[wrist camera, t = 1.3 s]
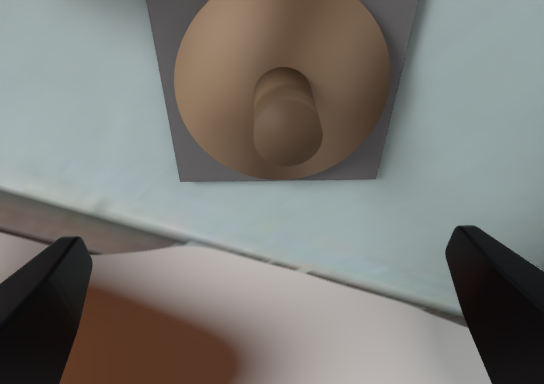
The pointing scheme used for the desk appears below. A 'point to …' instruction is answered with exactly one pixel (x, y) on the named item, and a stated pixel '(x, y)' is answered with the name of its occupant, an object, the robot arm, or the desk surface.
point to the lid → (281, 83)
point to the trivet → (202, 167)
